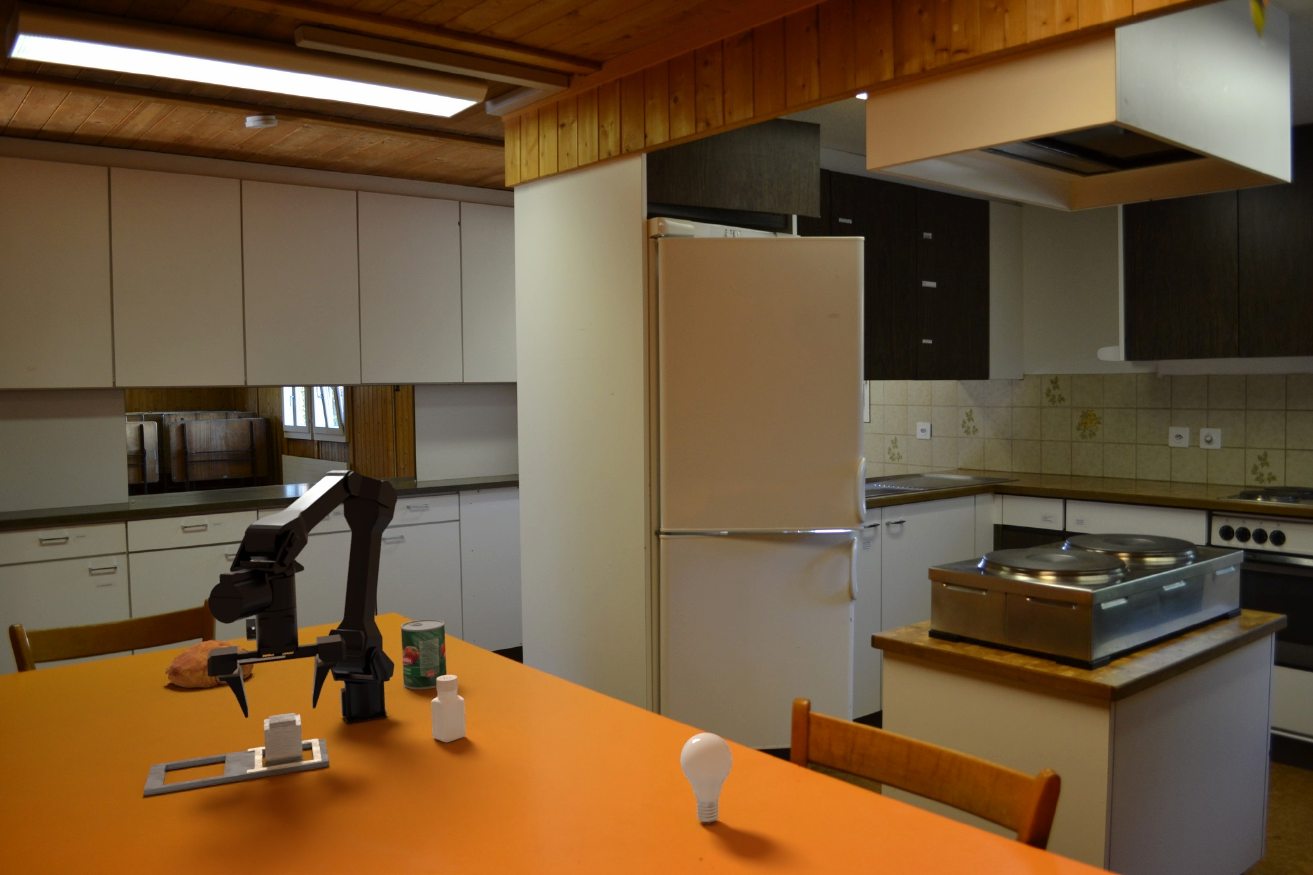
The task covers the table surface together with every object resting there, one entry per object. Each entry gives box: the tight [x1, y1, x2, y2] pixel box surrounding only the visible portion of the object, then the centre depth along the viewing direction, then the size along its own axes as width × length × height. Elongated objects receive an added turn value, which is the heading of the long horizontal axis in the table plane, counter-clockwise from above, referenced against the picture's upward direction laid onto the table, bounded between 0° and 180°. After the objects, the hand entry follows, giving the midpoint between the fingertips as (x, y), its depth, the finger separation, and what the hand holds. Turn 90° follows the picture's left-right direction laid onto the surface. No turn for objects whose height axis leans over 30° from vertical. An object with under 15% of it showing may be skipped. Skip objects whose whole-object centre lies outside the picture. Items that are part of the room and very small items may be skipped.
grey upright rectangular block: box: [263, 712, 304, 767], centre depth 145 cm, size 5×5×7 cm
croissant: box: [164, 639, 255, 689], centre depth 190 cm, size 14×16×8 cm
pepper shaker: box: [430, 674, 467, 743], centre depth 153 cm, size 4×4×10 cm
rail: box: [143, 738, 330, 797], centre depth 143 cm, size 24×10×1 cm, turn 112°
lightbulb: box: [679, 732, 733, 824], centre depth 121 cm, size 6×6×11 cm
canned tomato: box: [400, 619, 448, 690], centre depth 182 cm, size 8×8×11 cm
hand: (280, 712), depth 145 cm, fingers open, 9 cm apart
